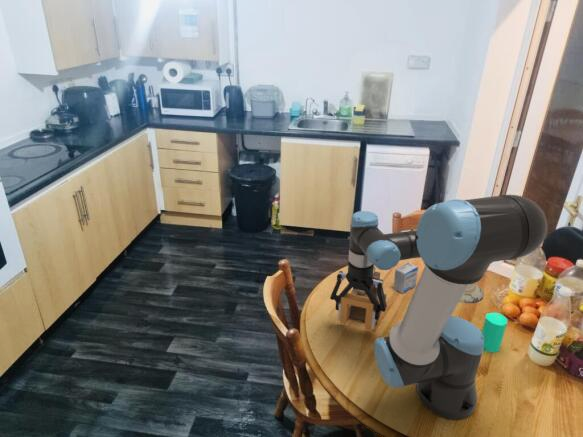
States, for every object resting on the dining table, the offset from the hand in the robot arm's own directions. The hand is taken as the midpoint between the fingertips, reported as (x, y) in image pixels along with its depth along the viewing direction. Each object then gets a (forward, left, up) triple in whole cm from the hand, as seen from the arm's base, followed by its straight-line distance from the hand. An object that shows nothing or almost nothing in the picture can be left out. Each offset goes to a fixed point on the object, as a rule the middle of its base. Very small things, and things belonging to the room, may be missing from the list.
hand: (356, 322), depth 136 cm
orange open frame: (0, 0, -1) cm, 1 cm away
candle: (+9, -40, -4) cm, 41 cm away
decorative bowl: (+36, -31, -4) cm, 47 cm away
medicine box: (+30, -11, -4) cm, 32 cm away
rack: (+13, 0, -3) cm, 13 cm away
